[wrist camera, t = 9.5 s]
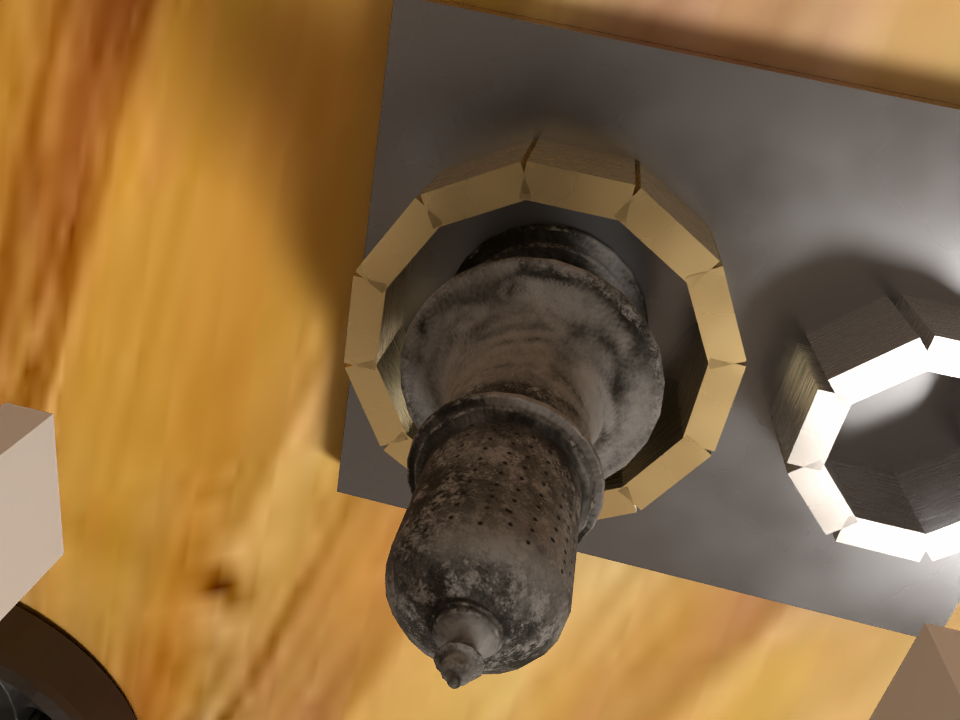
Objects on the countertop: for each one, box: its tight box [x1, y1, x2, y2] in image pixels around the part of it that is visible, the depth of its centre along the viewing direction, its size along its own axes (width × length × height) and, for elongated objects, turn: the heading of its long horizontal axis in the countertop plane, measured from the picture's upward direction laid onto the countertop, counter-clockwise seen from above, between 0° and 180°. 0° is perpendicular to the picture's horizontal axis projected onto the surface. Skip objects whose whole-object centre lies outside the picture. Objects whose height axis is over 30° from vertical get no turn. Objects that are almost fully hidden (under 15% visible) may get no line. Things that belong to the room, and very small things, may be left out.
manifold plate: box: [337, 0, 960, 637], centre depth 20 cm, size 18×14×4 cm
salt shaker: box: [385, 224, 665, 689], centre depth 16 cm, size 6×6×12 cm
